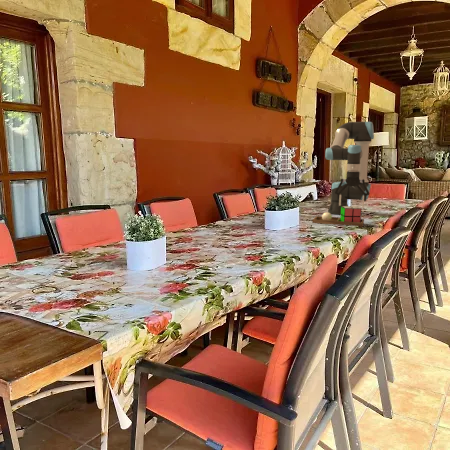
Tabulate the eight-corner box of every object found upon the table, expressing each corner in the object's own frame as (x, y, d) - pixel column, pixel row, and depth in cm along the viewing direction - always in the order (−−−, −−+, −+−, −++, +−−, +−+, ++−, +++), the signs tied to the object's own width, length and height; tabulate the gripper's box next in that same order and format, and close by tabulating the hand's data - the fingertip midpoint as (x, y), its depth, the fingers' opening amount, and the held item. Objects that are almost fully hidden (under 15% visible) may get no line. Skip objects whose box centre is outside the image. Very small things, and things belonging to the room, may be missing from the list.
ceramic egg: (322, 220, 271) (322, 211, 270) (332, 221, 268) (332, 211, 267) (320, 222, 265) (321, 212, 264) (330, 222, 263) (331, 213, 262)
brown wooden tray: (316, 220, 277) (316, 216, 276) (363, 223, 266) (364, 219, 266) (312, 224, 263) (312, 219, 262) (362, 227, 252) (362, 222, 252)
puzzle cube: (360, 224, 257) (361, 208, 255) (343, 224, 257) (344, 208, 255) (356, 222, 266) (357, 206, 265) (340, 221, 267) (341, 206, 265)
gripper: (331, 170, 257) (329, 205, 261) (374, 171, 248) (372, 207, 252) (332, 170, 264) (331, 204, 268) (375, 171, 255) (373, 206, 259)
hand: (351, 206), depth 260 cm, fingers open, 13 cm apart
